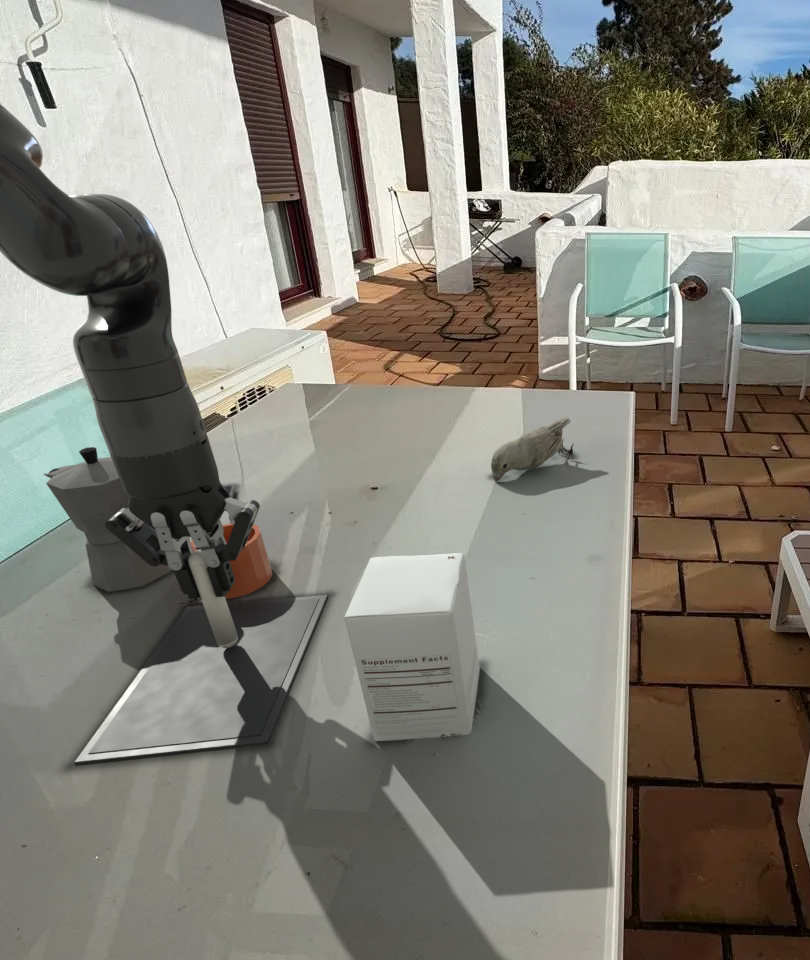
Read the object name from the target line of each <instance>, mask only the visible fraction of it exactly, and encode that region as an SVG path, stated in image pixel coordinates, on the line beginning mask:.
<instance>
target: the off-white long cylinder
mask: <svg viewBox="0 0 810 960" xmlns="http://www.w3.org/2000/svg"><path fill="white" fill-rule="evenodd" d="M188 563H189V566H190V569H191V572H192V574H193V577H194V580H195V583H196V586H197V589H198V591H199V594H200V600H201V603H202V605H204V608H205V611H206V614H207V617H208V619H209V622H210V625H211V628H212V631H213V634H214V636H215V639H216V642H217V644H218V645H219V646H220V647H222V648H230V647H232V646H234V645H235V644H236V642H237V640H238V635H237V632H236V629H235V626H234V623H233V620H232V617H231V614H230V611H229V608H228V605H227V603H228V602H227V599H225V597H216V595H215V592H214V589H213V586H212V583H211V581H210V578H209V575H208V572H207V567H208V565H207V563H206V561H205V559H204V557H203V554H202V552H201V550H197V551H194V552H193V553H191V554H190V556H189V558H188Z"/></svg>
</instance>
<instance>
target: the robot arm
mask: <svg viewBox="0 0 810 960" xmlns="http://www.w3.org/2000/svg"><path fill="white" fill-rule="evenodd" d="M43 161H44V152H43V149H42V146H41V145H40V142H39V140H38V139H37V138H36V136H35V135H34V134H33V133H32V132H31V131H30V129H29V128H27V127H26V126H25V125H24V123H22V122H21V120H19V119H18V118H17V117H16V116H15V115H14V114H13V113H11V112H10V111H9V110H8V109H7V108H6V107H5V106H3V105H2V104H1V103H0V253H1V255H3V257H5V258H6V260H7V261H9V262H10V263H11V264H12V265H13V266H14V267H15V268H17V269H18V270H19V271H20V272H21V273H23V274H24V275H26V276H27V277H28V278H30V279H32V280H34V281H35V282H37V283H38V284H40V285H42V286H44V287H46V288H48V289H51V290H53V291H55V292H58V293H60V294H64V295H69V296H74V297H86V301H87V308H88V309H87V310H88V314H87V317H86V319H85V321H84V322H83V323H82V324H81V325H80V326H79V327H78V328H77V329H76V330H75V332H74V334H73V336H72V347H73V350H74V351H73V352H74V354H75V357H76V360H77V363H78V365H79V367H80V370H81V373H82V376H83V378H84V380H85V383H86V386H87V388H88V391H89V394H90V397H91V399H92V402H93V406H94V410H95V414H96V415H95V416H96V421H97V424H98V427H99V430H100V432H101V435H102V438H103V440H104V442H105V445H106V448H107V450H108V453H109V457H111V458H112V461H113V463H114V466H115V469H116V471H117V474H118V476H119V479H120V481H121V484H122V487H123V489H124V491H125V493H126V494H127V495H129V502H128V508H122V509H120V510H119V511H118V512H117V513H116V514H115V515H114V516H113V517H111V518H110V519H109V520H108V521H107V522H106V523H105V526H106V528H107V529H108V530H109V531H110V532H112V533H113V534H114V535H115V536H116V537H117V538H119V539H120V540H121V541H122V542H123V543H124V544H126V545H127V546H128V547H129V548H130V549H131V550H133V551H134V552H135V553H136V554H137V555H138V556H140V557H141V558H142V559H143V560H144V561H145V562H146V563H148V564H149V565H150V566H158V565H159V564H161V565H166V566H169V568H170V569H171V570H172V571H173V572H174V575H175V578H176V580H177V582H178V583H177V584H178V586H179V589H180V591H181V592H182V594H184V595H187V597H188V599H189V600H198V599H199V598H200V599H201V597H200V594H199V591H198V589H197V586H196V583H195V580H194V577H193V574H192V572H191V569H190V566H189V563H188V558H189V556H190V554H191V553H193V551H192V547H191V541H192V540H193V542H194V544H195V547H196V548H197V549H198V550H199V549H200V550H201V552H202V554H203V557H204V559H205V561H206V563H207V565H208V567H207V572H208V575H209V578H210V581H211V583H212V586H213V589H214V592H215V595H216V597H225V596H226V595H227V593H228V592H229V590H230V589H231V587H232V586H233V584H234V583H235V576H234V573H233V571H232V567H231V564H230V561H234V560H236V559H237V557H238V555H239V553H240V552H241V550H242V549H243V548H244V547H245V546H246V543H247V540H248V538H249V535H250V532H251V529H252V527H253V524H255V521H256V519H257V516H258V513H259V511H260V503H259V502H258V501H257V500H255V499H250V500H248V501H247V502H244V501H242V500H239V499H236V498H234V497H233V498H230V495H229V492H228V491H227V490H226V489H225V488H224V485H223V484H222V483H221V481H220V473H219V469H218V465H217V462H216V459H215V456H214V455H215V454H214V452H213V450H212V446H211V442H210V439H209V437H208V433H207V429H206V423H205V420H204V418H203V417H202V414H201V411H200V407H199V405H198V402H197V399H196V398H195V396H194V394H193V392H192V390H191V388H190V385H189V382H188V380H187V379H188V378H187V377H186V373H185V370H184V367H183V363H182V360H181V357H180V354H179V351H178V348H177V345H176V343H175V340H174V337H173V331H172V330H173V329H172V319H173V317H172V315H173V314H172V311H173V309H172V298H171V286H170V274H169V267H168V260H167V255H166V253H165V249H164V246H163V243H162V241H161V238H160V236H159V233H158V232H157V231H156V229H155V227H154V226H153V224H152V222H151V221H150V220H149V218H148V217H147V216H146V215H145V214H144V213H143V212H142V210H141V209H139V208H138V207H137V206H135V205H134V204H132V203H131V202H129V201H128V200H126V199H124V198H121V197H119V196H116V195H113V194H106V193H86V194H71V195H69V194H67V193H66V192H65V191H63V190H62V189H60V188H59V187H58V186H57V185H56V184H55V183H54V182H53V181H52V180H51V179H50V178H49V177H48V176H47V175H46V174H45V172H43V170H42V166H43ZM225 512H227V513H228V520H229V523H231V524H234V526H233V529H232V532H231V535H230V538H229V541H228V543H226V541H225V538H224V536H223V532H224V529H223V526H222V525H223V524H222V522H221V518H222V516H223V514H224V513H225ZM148 525H149V526H150V527H151V528H153V529H154V530H155V531H156V532H155V531H154V530H153V529H151V528H150V527H149V526H148ZM190 538H191V539H190ZM149 545H150V546H151V547H152V548H153V549H154V550H153V549H152V548H151V547H150V546H149Z"/></svg>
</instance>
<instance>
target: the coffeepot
mask: <svg viewBox="0 0 810 960" xmlns="http://www.w3.org/2000/svg"><path fill="white" fill-rule="evenodd" d="M78 453H79V455H80V456H81V458H82V459H83V460H84V461H82V462H79V463H77V464H70V465H63V466H59V467H57V468H53V469H51V470H49V471H48V473H44V474H43V476H45V477H47V478H49V479H48V481H46V483H45V484H46V486H47V487H48V488H49V490H50V492H51V493H52V494H53V496H54V497H55V499H56V500H57V502H58V503H59V505H60V506H61V507H62V509H63V511H64V512H65V513H66V514H67V516H68V517H69V519H70V521H71V522H72V524H73V525H74V526H75V528H76V529H77V530H79V531H81V532H83V533H84V535H85V539H86V542H85V549H86V554H87V559H88V560H87V561H88V565H89V571H90V574H91V575H90V576H91V581H92V585H93V586H95V587H98V589H100V590H101V589H102V590H103V591H106V592H108V593H111V592H112V593H113V592H117V591H124V590H129V589H130V590H131V589H136V588H141V587H144V586H146V585H147V584H150V583H151V582H154V581H155V580H158V579H159V578H161V577H163V576H165V575H167V574H169V573H170V572H171V570H172V569H170V568H169V566H166V565H161V564H159V565H158V566H150V565H149V564H148V563H146V562H145V561H144V560H143V559H142V558H141V557H140V556H138V555H137V554H136V553H135V552H134V551H133V550H131V549H130V548H129V547H128V546H127V545H126V544H124V543H123V542H122V541H121V540H120V539H119V538H117V537H116V536H115V535H114V534H113V533H112V532H110V531H109V530H108V529H107V528H106V526H105V523H106V522H107V521H108V520H109V519H110V518H111V517H113V516H114V515H115V514H116V513H117V512H118V511H119V510H120V509H122V508H128V502H129V495H127V494H126V493H125V491H124V489H123V487H122V484H121V481H120V479H119V476H118V474H117V471H116V469H115V466H114V463H113V461H112V458H111V456H106V457H98V451H97V447H93V446H91V447H90V446H89V447H84V448H82V449H80V450H79V451H78ZM148 526H149V525H148ZM149 527H150V526H149ZM150 528H151V527H150ZM151 529H153V528H151ZM153 530H154V529H153ZM154 531H155V530H154ZM155 532H156V531H155ZM149 546H150V545H149ZM150 547H151V546H150ZM151 548H152V547H151ZM152 549H153V548H152ZM153 550H154V549H153Z"/></svg>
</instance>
